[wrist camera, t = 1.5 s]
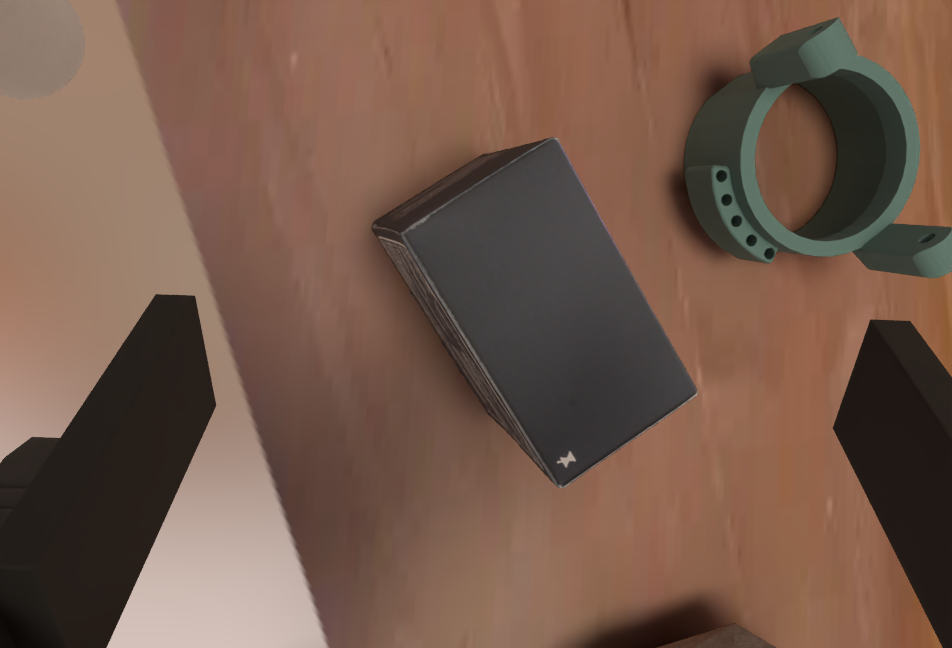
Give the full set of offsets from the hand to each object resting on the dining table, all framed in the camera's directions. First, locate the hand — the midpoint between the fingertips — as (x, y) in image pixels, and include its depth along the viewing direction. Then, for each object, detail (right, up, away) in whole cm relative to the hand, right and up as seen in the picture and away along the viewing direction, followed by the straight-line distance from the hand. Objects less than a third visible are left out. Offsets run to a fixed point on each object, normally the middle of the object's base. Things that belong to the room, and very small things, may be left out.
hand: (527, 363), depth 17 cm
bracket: (+12, +8, +23) cm, 27 cm away
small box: (0, +2, +21) cm, 21 cm away
